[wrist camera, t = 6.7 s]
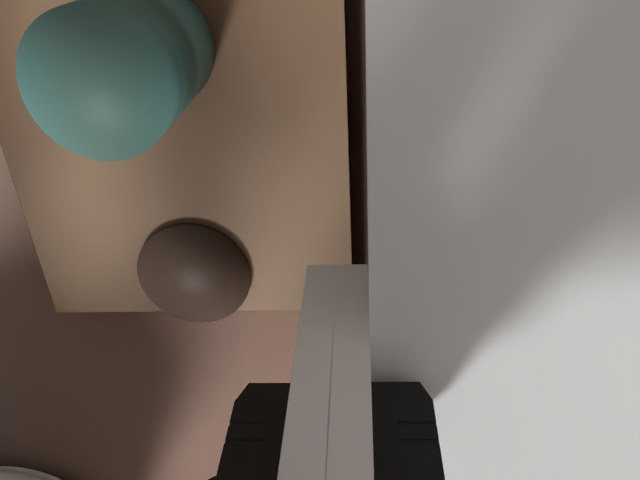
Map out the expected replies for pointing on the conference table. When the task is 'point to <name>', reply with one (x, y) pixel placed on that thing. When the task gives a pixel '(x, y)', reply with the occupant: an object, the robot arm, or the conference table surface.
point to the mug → (23, 474)
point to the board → (178, 149)
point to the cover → (509, 228)
